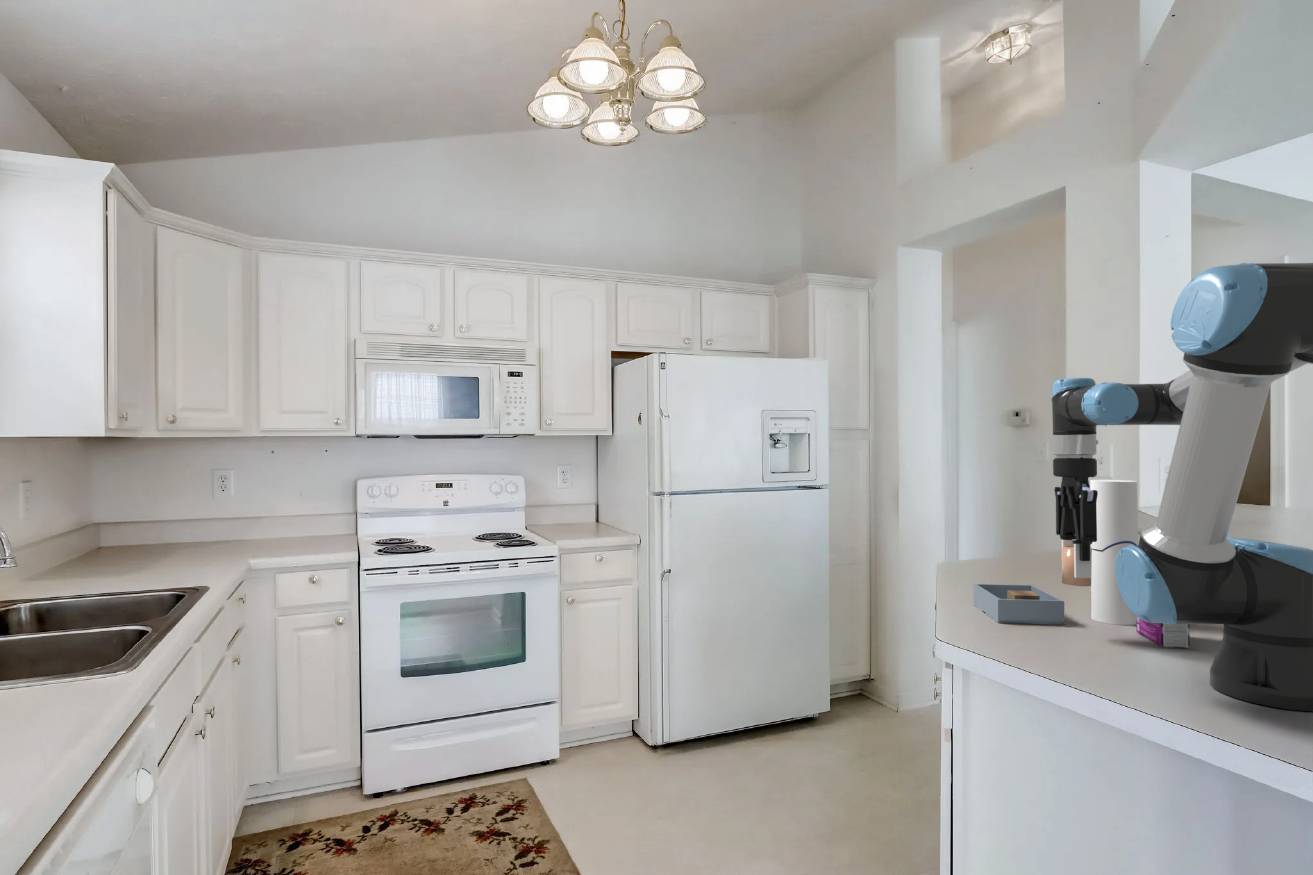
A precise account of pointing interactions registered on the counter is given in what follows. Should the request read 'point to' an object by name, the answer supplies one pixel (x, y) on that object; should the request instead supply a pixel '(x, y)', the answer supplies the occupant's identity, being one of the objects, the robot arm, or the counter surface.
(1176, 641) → the candy bar box
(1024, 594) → the walnut cube
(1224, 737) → the counter surface
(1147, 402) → the robot arm
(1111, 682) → the counter surface
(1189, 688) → the counter surface
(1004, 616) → the tote
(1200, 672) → the counter surface
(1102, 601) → the container
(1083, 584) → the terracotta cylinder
